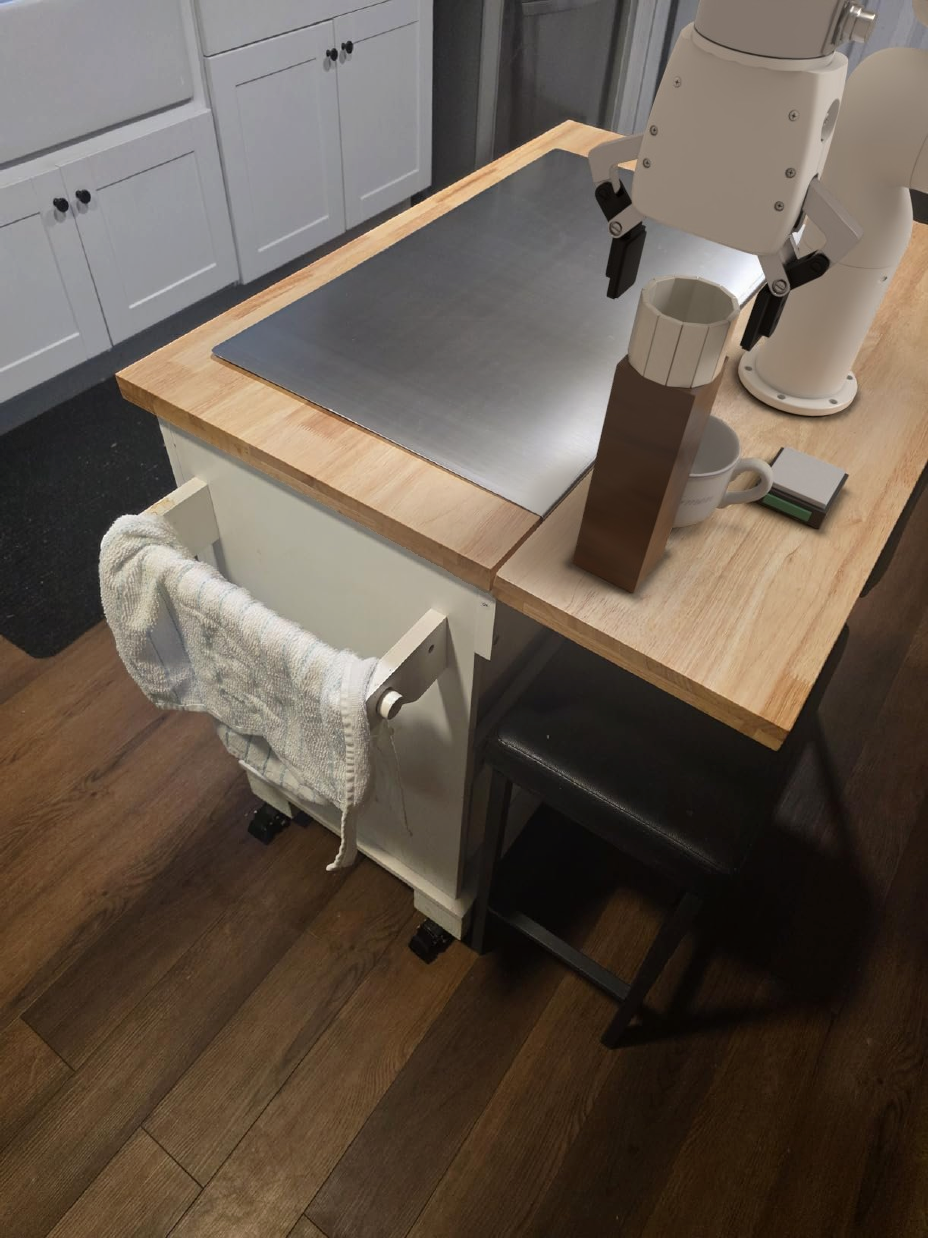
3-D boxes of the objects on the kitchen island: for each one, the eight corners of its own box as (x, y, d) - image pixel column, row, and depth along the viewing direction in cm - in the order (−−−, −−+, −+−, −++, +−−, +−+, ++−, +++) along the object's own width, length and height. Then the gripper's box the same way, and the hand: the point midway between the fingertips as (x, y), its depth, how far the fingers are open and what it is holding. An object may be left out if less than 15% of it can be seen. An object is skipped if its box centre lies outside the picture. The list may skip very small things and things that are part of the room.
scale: (774, 462, 86) (783, 441, 84) (841, 490, 84) (852, 469, 82) (748, 500, 82) (757, 479, 80) (817, 531, 80) (828, 510, 78)
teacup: (581, 510, 80) (597, 441, 74) (634, 450, 86) (652, 382, 80) (721, 578, 76) (750, 510, 70) (766, 509, 82) (796, 442, 76)
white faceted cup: (652, 324, 64) (667, 264, 61) (733, 356, 62) (754, 296, 58) (612, 364, 60) (625, 303, 57) (697, 399, 58) (716, 338, 55)
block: (603, 524, 79) (653, 326, 64) (663, 553, 77) (729, 356, 62) (571, 563, 76) (616, 363, 60) (633, 594, 74) (695, 396, 59)
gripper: (954, 39, 45) (826, 337, 58) (651, -35, 50) (596, 252, 63) (917, 76, 40) (788, 389, 53) (590, -10, 46) (545, 293, 59)
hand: (684, 315), depth 58 cm, fingers open, 9 cm apart
